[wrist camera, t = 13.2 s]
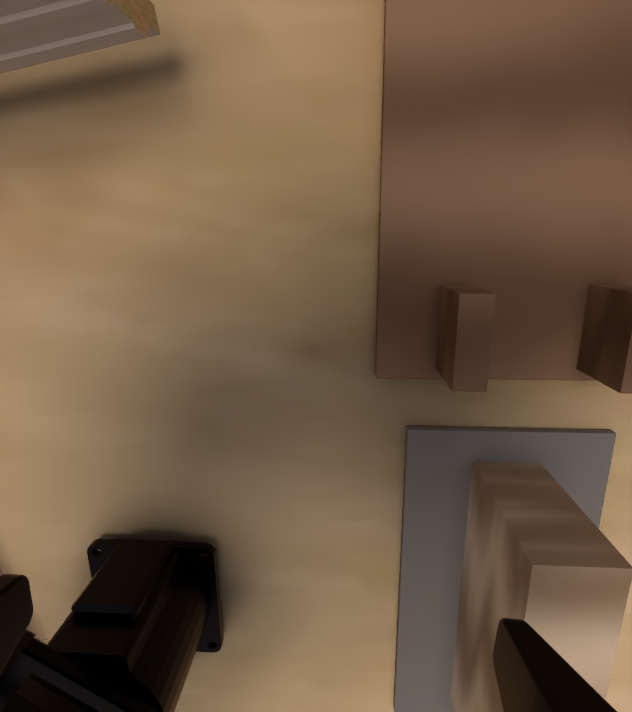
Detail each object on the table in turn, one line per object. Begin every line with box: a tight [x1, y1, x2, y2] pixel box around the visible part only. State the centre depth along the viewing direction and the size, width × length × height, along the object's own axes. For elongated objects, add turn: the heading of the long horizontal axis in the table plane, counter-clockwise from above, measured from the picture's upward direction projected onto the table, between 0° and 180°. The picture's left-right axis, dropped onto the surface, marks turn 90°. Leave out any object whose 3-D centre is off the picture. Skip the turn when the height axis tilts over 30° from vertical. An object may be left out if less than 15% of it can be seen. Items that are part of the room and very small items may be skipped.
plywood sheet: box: [451, 461, 632, 712], centre depth 18 cm, size 14×3×6 cm, turn 0°
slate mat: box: [394, 426, 616, 712], centre depth 22 cm, size 17×9×1 cm, turn 1°
